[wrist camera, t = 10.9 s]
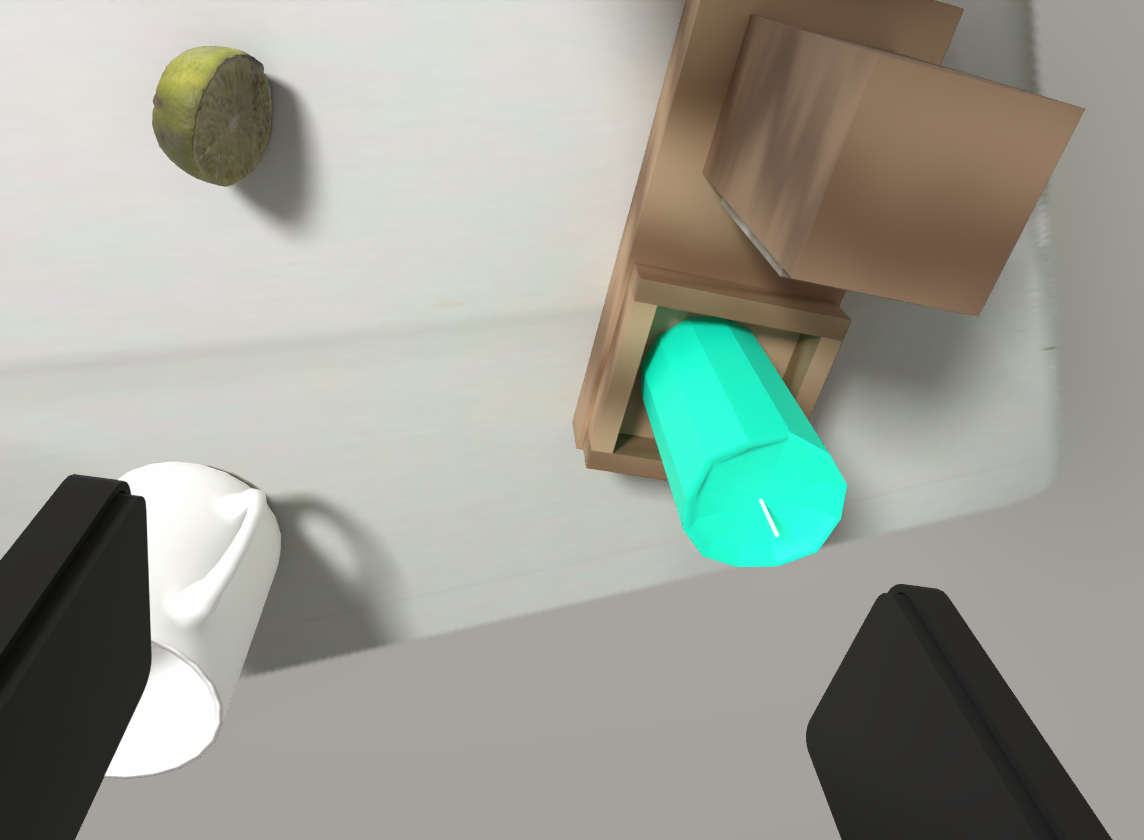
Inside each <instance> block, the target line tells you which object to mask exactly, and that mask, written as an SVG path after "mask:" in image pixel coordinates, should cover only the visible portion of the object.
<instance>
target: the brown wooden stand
mask: <svg viewBox="0 0 1144 840" xmlns="http://www.w3.org/2000/svg"><path fill="white" fill-rule="evenodd" d="M963 10H964V9H963V8H959V7H956V6H952V5H949V4H945V3H941V2H938V1H934V0H686V2H685V6H684V10H683V13H682V17H681V21H680V25H679V28H678V32H677V36H676V39H675V43H674V47H673V51H672V54H671V58H670V62H669V65H668V69H667V73H666V77H665V80H664V84H663V88H662V91H661V95H660V99H659V103H658V106H657V110H656V114H655V118H654V121H653V125H652V129H651V132H650V136H649V140H648V144H647V147H646V151H645V155H644V158H643V162H642V166H641V170H640V173H639V177H638V181H637V184H636V188H635V192H634V196H633V199H632V203H631V207H630V211H629V214H628V218H627V222H626V225H625V229H624V233H623V237H622V240H621V244H620V248H619V251H618V255H617V259H616V263H615V266H614V270H613V274H612V277H611V281H610V285H609V289H608V292H607V296H606V300H605V304H604V307H603V311H602V315H601V318H600V322H599V326H598V330H597V333H596V337H595V341H594V344H593V348H592V352H591V356H590V359H589V363H588V367H587V370H586V374H585V378H584V382H583V385H582V389H581V393H580V396H579V400H578V404H577V408H576V411H575V415H574V419H573V429H574V435H575V442H576V449H582V450H584V456H585V463H586V468H589V469H596V470H602V471H609V472H616V473H622V474H629V475H635V476H642V477H649V478H655V479H662V480H668V478H667V475H666V472H665V469H664V465H663V462H662V459H661V456H660V453H659V449H658V446H657V443H656V440H655V437H654V433H653V430H652V427H651V424H650V420H649V417H648V414H647V411H646V408H645V404H644V401H643V398H642V395H641V362H642V361H643V359H644V358H645V356H646V354H647V353H648V351H649V350H650V348H651V346H652V345H653V343H654V342H655V340H656V338H657V337H658V335H660V334H662V333H663V332H665V331H667V330H669V329H670V328H672V327H674V326H675V325H677V324H679V323H680V322H682V321H684V320H685V319H687V318H694V317H709V316H715V317H720V318H725V319H730V320H732V321H734V322H736V323H738V324H740V325H742V326H744V327H746V328H748V329H750V330H751V331H752V333H753V334H754V336H755V338H756V339H757V341H758V342H759V344H760V345H761V347H762V349H763V350H764V352H765V353H766V355H767V356H768V358H769V360H770V361H771V363H772V364H773V366H774V367H775V369H776V371H777V372H778V374H779V375H780V377H781V378H782V380H783V382H784V383H785V385H786V386H787V388H788V389H789V391H790V392H791V394H792V396H793V397H794V399H795V400H796V402H797V403H798V405H799V407H800V408H801V410H802V411H803V413H804V414H805V416H806V418H807V419H809V417H810V415H811V412H812V410H813V408H814V405H815V403H816V401H817V399H818V396H819V394H820V392H821V389H822V387H823V385H824V382H825V380H826V378H827V375H828V373H829V371H830V369H831V366H832V364H833V362H834V359H835V357H836V355H837V352H838V350H839V348H840V345H841V343H842V341H843V339H844V336H845V334H846V332H847V329H848V327H849V325H850V322H851V319H850V318H849V317H848V316H847V315H846V314H845V313H844V312H843V311H842V310H841V308H840V307H839V305H840V302H841V300H842V298H843V295H844V293H845V291H846V290H850V291H855V292H860V293H864V294H869V295H874V296H879V297H884V298H889V299H894V300H899V301H904V302H908V303H913V304H918V305H923V306H929V307H934V308H939V309H943V310H948V311H953V312H958V313H963V314H968V315H973V316H979V314H980V312H981V310H982V308H983V306H984V305H985V303H986V301H987V299H988V297H989V295H990V293H991V291H992V289H993V287H994V285H995V283H996V281H997V279H998V277H999V275H1000V273H1001V271H1002V270H1003V268H1004V266H1005V264H1006V262H1007V260H1008V258H1009V256H1010V254H1011V252H1012V250H1013V248H1014V246H1015V244H1016V242H1017V240H1018V238H1019V237H1020V235H1021V233H1022V231H1023V229H1024V227H1025V225H1026V223H1027V221H1028V219H1029V217H1030V215H1031V213H1032V211H1033V209H1034V207H1035V205H1036V203H1037V202H1038V200H1039V198H1040V196H1041V194H1042V192H1043V190H1044V188H1045V186H1046V184H1047V182H1048V180H1049V178H1050V176H1051V174H1052V172H1053V170H1054V168H1055V167H1056V165H1057V163H1058V161H1059V159H1060V157H1061V155H1062V153H1063V151H1064V149H1065V147H1066V145H1067V143H1068V141H1069V139H1070V137H1071V135H1072V133H1073V132H1074V130H1075V128H1076V126H1077V124H1078V122H1079V120H1080V118H1081V116H1082V114H1083V112H1084V110H1085V109H1084V108H1081V107H1077V106H1074V105H1071V104H1067V103H1064V102H1060V101H1057V100H1054V99H1051V98H1047V97H1044V96H1040V95H1037V94H1034V93H1030V92H1027V91H1024V90H1020V89H1017V88H1014V87H1010V86H1007V85H1003V84H1000V83H997V82H993V81H990V80H987V79H983V78H980V77H977V76H973V75H970V74H966V73H963V72H960V71H956V70H953V69H950V68H946V67H943V66H940V65H941V63H942V60H943V58H944V55H945V53H946V51H947V48H948V46H949V44H950V41H951V39H952V36H953V34H954V32H955V29H956V27H957V25H958V22H959V20H960V17H961V15H962V13H963Z"/></svg>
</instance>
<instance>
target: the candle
mask: <svg viewBox="0 0 1144 840" xmlns="http://www.w3.org/2000/svg"><path fill="white" fill-rule="evenodd" d="M641 395H642V398H643V401H644V404H645V408H646V411H647V414H648V417H649V420H650V424H651V427H652V430H653V433H654V437H655V440H656V443H657V446H658V449H659V453H660V456H661V459H662V462H663V465H664V469H665V472H666V475H667V478H668V482H669V485H670V488H671V491H672V494H673V498H674V501H675V504H676V507H677V511H678V514H679V517H680V520H681V523H682V527H683V530H684V531H685V533H686V534H687V535H688V537H689V538H690V539H691V541H692V542H693V544H694V545H695V546H696V548H697V549H698V550H699V552H700V553H701V554H702V556H704V557H707V558H710V559H713V560H716V561H719V562H723V563H726V564H729V565H732V566H735V567H760V566H761V567H763V566H764V567H766V566H780V565H783V564H786V563H788V562H791V561H794V560H797V559H800V558H802V557H805V556H808V555H811V554H813V553H816V552H817V551H818V550H819V549H820V548H821V546H822V545H823V543H824V542H825V541H826V539H827V538H828V536H829V535H830V534H831V532H832V531H833V529H834V528H835V527H836V525H837V524H838V522H839V521H840V520H841V516H842V511H843V505H844V500H845V495H846V489H847V484H846V482H845V480H844V479H843V477H842V475H841V473H840V471H839V470H838V468H837V466H836V464H835V463H834V461H833V459H832V457H831V455H830V454H829V452H828V451H827V449H826V447H825V446H824V444H823V443H822V441H821V440H820V438H819V436H818V435H817V433H816V432H815V430H814V429H813V427H812V425H811V424H810V422H809V421H808V419H807V418H806V416H805V414H804V413H803V411H802V410H801V408H800V407H799V405H798V403H797V402H796V400H795V399H794V397H793V396H792V394H791V392H790V391H789V389H788V388H787V386H786V385H785V383H784V382H783V380H782V378H781V377H780V375H779V374H778V372H777V371H776V369H775V367H774V366H773V364H772V363H771V361H770V360H769V358H768V356H767V355H766V353H765V352H764V350H763V349H762V347H761V345H760V344H759V342H758V341H757V339H756V338H755V336H754V334H753V333H752V331H751V330H750V329H748V328H746V327H744V326H742V325H740V324H738V323H736V322H734V321H732V320H730V319H725V318H720V317H715V316H709V317H694V318H687V319H685V320H684V321H682V322H680V323H679V324H677V325H675V326H674V327H672V328H670V329H669V330H667V331H665V332H663V333H662V334H660V335H658V337H657V338H656V340H655V342H654V343H653V345H652V346H651V348H650V350H649V351H648V353H647V354H646V356H645V358H644V359H643V361H642V362H641Z"/></svg>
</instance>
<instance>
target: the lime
mask: <svg viewBox="0 0 1144 840" xmlns="http://www.w3.org/2000/svg"><path fill="white" fill-rule="evenodd" d="M153 104H154V109H153V115H152V116H153V120H152V125H153V129H154V133H155V136H156V138H157V141H158V143H159V146H160V148H161V149H162V150H163V151H164V153H165V154H166V155H167V156H168V157H169V159H170V160H171V161H172V162H174V163H175V164H176V165H177V166H178V167H179V168H181V169H182V170H183V171H185V172H186V173H188V174H190V175H191V176H193V177H195V178H197V179H200V180H202V181H205V182H208V183H211V184H215V185H219V186H230V185H233V184H234V183H236V182H237V181H238V180H240V179H241V178H243V177H244V176H245V175H247V174H248V173H250V172H251V171H252V170H253V168H254V166H255V165H256V164H257V162H258V161H259V160H260V158H261V157H262V152H263V151H264V148H265V147H266V145H267V143H268V139H269V135H270V130H271V113H272V104H271V91H270V87H269V84H268V81H267V77H266V75H265V74H264V67H263V64H262V63H260V62H259V61H258V60H256V59H255V58H254V57H252V56H250V55H249V54H247V53H245V52H243V51H241V50H237V49H232V48H227V47H217V46H203V47H197V48H193V49H190V50H188V51H185V52H183V53H182V54H180V55H179V56H178V57H176V58H175V59H174V60H172V61H171V62H170V64H168V66H167V67H166V69H165V71H164V72H163V74H162V76H161V78H160V81H159V83H158V86H157V89H156V94H155V96H154V99H153Z"/></svg>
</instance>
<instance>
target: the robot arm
mask: <svg viewBox="0 0 1144 840" xmlns="http://www.w3.org/2000/svg"><path fill="white" fill-rule="evenodd" d="M151 662H152V652H151V623H150V595H149V566H148V537H147V509H146V501H145V498H144V497H143V496H138V495H131V490H130V486H129V484H128V483H127V482H125V481H122V480H114V479H106V478H99V477H91V476H84V475H76V474H73V475H70V476H68V477H67V478H66V479H65V480H64V481H63V482H62V483H61V485H60V486H59V487H58V488H57V490H56V491H55V492H54V493H53V495H52V496H51V497H50V498H49V500H48V501H47V502H46V504H45V505H44V506H43V507H42V509H41V510H40V511H39V512H38V514H37V515H36V516H35V517H34V519H33V520H32V521H31V522H30V524H29V525H28V526H27V528H26V529H25V530H24V531H23V533H22V534H21V535H20V536H19V538H18V539H17V540H16V541H15V543H14V544H13V545H12V546H11V548H10V549H9V550H8V552H7V553H6V554H5V555H4V557H3V558H2V559H1V560H0V840H75V838H76V836H77V834H78V832H79V830H80V827H81V825H82V823H83V821H84V819H85V817H86V815H87V813H88V810H89V808H90V806H91V804H92V802H93V800H94V797H95V795H96V793H97V791H98V789H99V787H100V785H101V782H102V780H103V778H104V776H105V774H106V772H107V770H108V768H109V765H110V763H111V761H112V759H113V757H114V755H115V753H116V750H117V748H118V746H119V744H120V742H121V740H122V738H123V735H124V733H125V731H126V729H127V727H128V725H129V723H130V720H131V718H132V716H133V714H134V712H135V710H136V708H137V705H138V703H139V701H140V699H141V697H142V695H143V693H144V690H145V688H146V685H147V682H148V678H149V674H150V670H151ZM806 742H807V748H808V752H809V754H810V757H811V759H812V762H813V765H814V768H815V770H816V773H817V776H818V778H819V781H820V784H821V786H822V788H823V791H824V794H825V797H826V799H827V802H828V805H829V807H830V810H831V812H832V815H833V818H834V821H835V823H836V826H837V829H838V831H839V834H840V836H841V839H842V840H1112V839H1111V837H1110V836H1109V834H1108V833H1107V831H1106V830H1105V828H1104V827H1103V825H1102V824H1101V822H1100V821H1099V819H1098V818H1097V816H1096V815H1095V814H1094V812H1093V810H1092V809H1091V808H1090V806H1089V805H1088V803H1087V802H1086V800H1085V799H1084V797H1083V796H1082V794H1081V793H1080V791H1079V790H1078V788H1077V787H1076V785H1075V784H1074V782H1073V781H1072V779H1071V778H1070V776H1069V775H1068V773H1067V772H1066V770H1065V769H1064V768H1063V766H1062V765H1061V763H1060V762H1059V760H1058V759H1057V757H1056V756H1055V754H1054V753H1053V751H1052V750H1051V748H1050V747H1049V745H1048V744H1047V742H1046V741H1045V740H1044V738H1043V736H1042V735H1041V734H1040V732H1039V731H1038V729H1037V728H1036V726H1035V725H1034V723H1033V722H1032V720H1031V719H1030V717H1029V716H1028V714H1027V713H1026V711H1025V710H1024V708H1023V707H1022V705H1021V704H1020V702H1019V701H1018V699H1017V698H1016V696H1015V695H1014V693H1013V692H1012V691H1011V689H1010V688H1009V686H1008V685H1007V683H1006V682H1005V680H1004V679H1003V677H1002V676H1001V674H1000V673H999V671H998V670H997V668H996V667H995V665H994V664H993V663H992V661H991V660H990V658H989V657H988V655H987V654H986V652H985V651H984V649H983V648H982V646H981V645H980V643H979V642H978V640H977V639H976V637H975V636H974V634H973V633H972V631H971V630H970V628H969V627H968V625H967V624H966V622H965V621H964V619H963V618H962V617H961V615H960V614H959V612H958V611H957V609H956V608H955V606H954V605H953V603H952V602H951V600H950V599H949V597H948V596H947V595H946V594H945V593H944V592H943V591H941V590H939V589H935V588H928V587H920V586H913V585H905V584H898V585H895V586H893V587H892V588H891V589H890V590H889V592H888V593H883V594H881V595H880V596H879V597H878V598H877V599H876V601H875V603H874V605H873V606H872V608H871V610H870V612H869V614H868V615H867V617H866V619H865V621H864V623H863V625H862V626H861V628H860V630H859V632H858V634H857V635H856V637H855V639H854V641H853V643H852V645H851V646H850V648H849V650H848V652H847V654H846V655H845V657H844V659H843V661H842V663H841V665H840V666H839V668H838V670H837V672H836V674H835V675H834V677H833V679H832V681H831V683H830V685H829V686H828V688H827V690H826V692H825V694H824V695H823V697H822V699H821V701H820V703H819V705H818V706H817V708H816V710H815V712H814V714H813V715H812V717H811V719H810V721H809V724H808V726H807V731H806Z"/></svg>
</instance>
